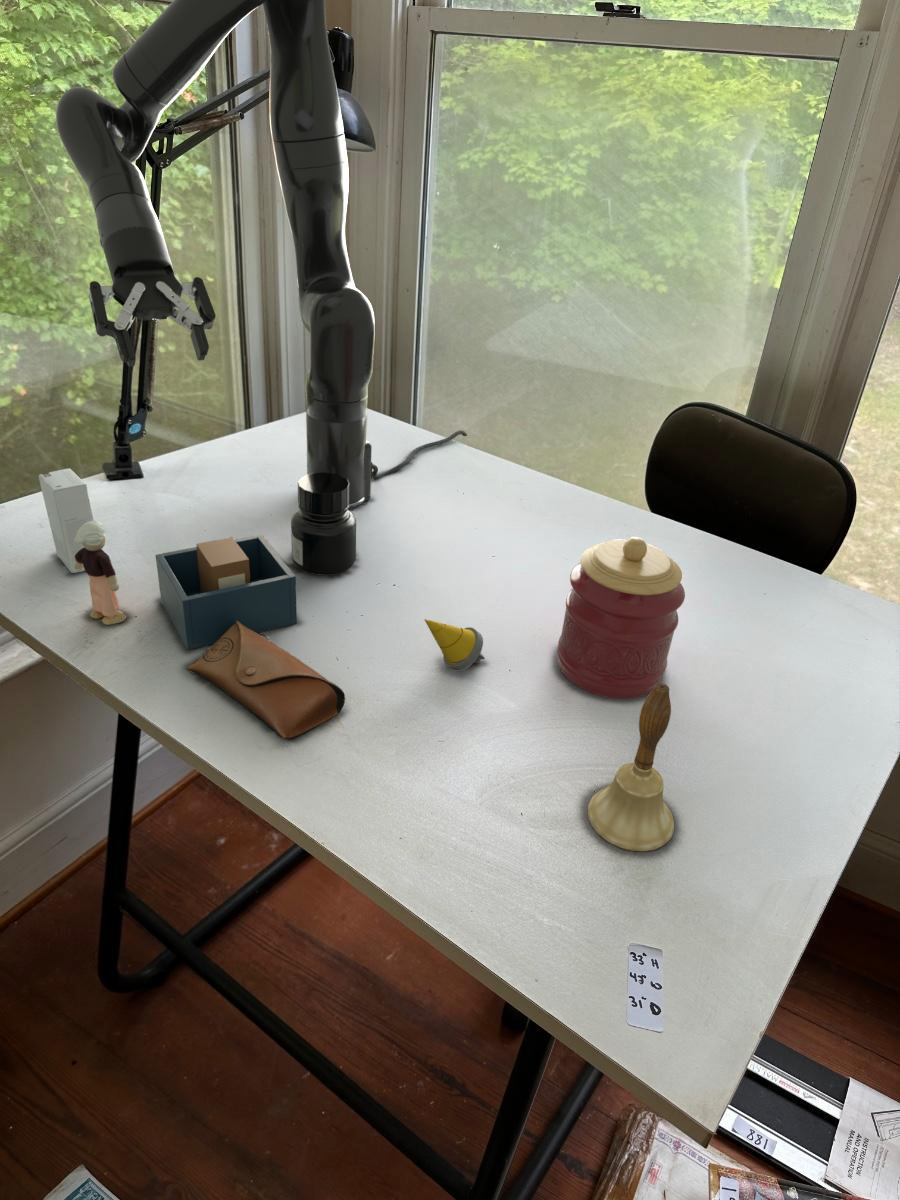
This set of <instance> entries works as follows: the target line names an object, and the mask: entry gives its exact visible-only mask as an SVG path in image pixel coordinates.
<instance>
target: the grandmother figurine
mask: <svg viewBox="0 0 900 1200" xmlns="http://www.w3.org/2000/svg"><path fill="white" fill-rule="evenodd" d="M74 541H75V542H76V543H78V544H83V546H84V548H82V549H81V550H79V551H78V552H77V553H76V554H75V559H76V561H75V562H76V563H75V567H76V568H77V569H82V568H83V567H84V569H85V571H84V572H85V574H86V575H87V577H88V581H89V582H88V585H89V592H90V598H91V603H92V608H93V610H91V612H90V613H89V616H90V617H91V618H92V619H101V618H102V620H101V622H102V624H103V625H106V626H107V625H109V626H111V625H114V624H119V623H122V622H124V621H126V619H127V615H126V614H125V613H124V611H121V610H117V609H118V608H119V606H120V603H119V599H118V596H117V591H119V589H120V585H119V583H118V579H117V575H116V571H115V569H114V566H113V564H112V561H111V557H110V556H109V554H107V552H105V551H104V550H103V548H104V547H105V545H106V542H107V541H106V536H105V528H104V526H103V524H102V523H101V522H99V521H98V520H93V521H90V522H87V523H85V524H84V525H82V526H81V527H80V529H79V530H78V532H77V535H76V537H75V540H74Z"/></svg>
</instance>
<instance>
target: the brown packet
mask: <svg viewBox="0 0 900 1200" xmlns="http://www.w3.org/2000/svg"><path fill="white" fill-rule="evenodd" d="M235 540H236V539H234V537H233V536H230V537H226V538H220V539H215V540H210V541H204V542H199V543H196V544H195V545H196V546H195V547H197V558H198V568H199V578H200V588H201V593H206V592H210V591H215V590H220V589H224V588H229V587H233V586H238V585H243V584H247V583H250V571H249V559H248V558H247V556H246V555H245V554H244V552H243V551H242V550H241V548H240V547H239V546H238V544H237V543H236V542H235Z"/></svg>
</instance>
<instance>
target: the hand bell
mask: <svg viewBox="0 0 900 1200" xmlns="http://www.w3.org/2000/svg"><path fill="white" fill-rule="evenodd" d="M671 715H672V703H671V697H670V687H669V686H668V684H666V683H664V682H660V683H656V684H655V685H654V688H653V689H652V691H651V692H650V693H648V694H647V696H646V698H645V700H644V702H643V703H642V706H641V709H640V713H639V720H638V731H639V743H638V747H637V751H636V753H635V756H634V761H633V762H627V763H625V764H623V765H621V766H620V767H619V768H618V769H617V770H616V772H615V775H614V778H613V780H612V782H611V784H610V785H608V786H605V787H602V788H601V789H600V790H598V791H597V792H596V793H595V794H593V796H592V797H591V799H590V800H589V802H588V804H587V818H588V820H589V822H590V825H591V827H592V828H593V830H594V831H595V832H596V833H597V834H598V835H599V836H600V837H601V838H602V839H604V840H605V841H606V842H608V843H610V844H611V845H613V846H615V847H618V848H619V849H620V848H621V849H623V850H627V851H633V852H649V851H654V850H657V849H659V848H661V847H663V846H665V845H666V844H667V843H668V842H669V841H670V840H671V839H672V837H673V834H674V832H675V821H674V817H673V814H672V812H671V810H670V808H669V806H668V805H667V804H666V802H665V801H664V789H665V788H664V786H665V783H664V778H663V776H662V774H660V772H659V771H658V770H657V769H656V768H654V767H653V766H654V762H655V761H654V760H655V755H656V750H657V746H658V744H659V743H660V740H661V739H662V738H663V737H664V735H665V732H666V731H667V729H668V726H669V723H670V721H671Z"/></svg>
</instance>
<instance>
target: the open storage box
mask: <svg viewBox="0 0 900 1200" xmlns="http://www.w3.org/2000/svg"><path fill="white" fill-rule="evenodd" d="M234 540H235V542H236V543H237V544H238V546H239V547H240V548H241V550H242V551H243V552H244V554H245V555H246V556H247V558H248V559H249V571H250V583H247V584H243V585H238V586H233V587H229V588H224V589H220V590H215V591H210V592H206V593H201V588H200V578H199V568H198V558H197V547H196V546H193V547H188V548H184V549H178V550H174V551H173V550H172V551H167V552H162V553H158V554H155V562H156V570H157V571H156V572H157V578H158V586H159V594H160V601H161V603H162V605H163V607H164V609H165V611H166V612H167V615H168V616H169V618H170V620H171V622H172V624H173V625H174V627H175V629H176V631H177V633H178V635H179V637H180V639H181V640H182V642H183V644H184V646H185V648H186V649H187V651H190V650H194V649H197V648H203V647H206V646H210V645H213V644H214V643H215V642H216V641H217V640H218V639H220V637H221V636H222V635H223V634H224V633H225V632H226V631H227V630H228V629H229V628H230V627H231V626H233V625H234V624H235V620H237V621H239V622H240V623H241V624H242V625H244V626H246V627H247V628H249V629H251V630H252V631H254V632H256V633H258V634H259V633H262V632H263V633H264V632H267V631H272V630H275V629H279V628H283V627H287V626H291V625H295V624H298V606H297V604H298V603H297V576H296V575H295V574H294V572H293V571H292V569H290V567H289V566H288V565H287V564H286V562H285V561H284V559H282V557H281V556H280V555H279V554H278V552H277V551H276V550H275V548H274V547H273V546H272V545H271V543H270V542H269V541H268V540H267V539H266V538H265V536H264V535H263V534H258V535H252V536H246V537H241V538H235V539H234Z"/></svg>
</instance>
